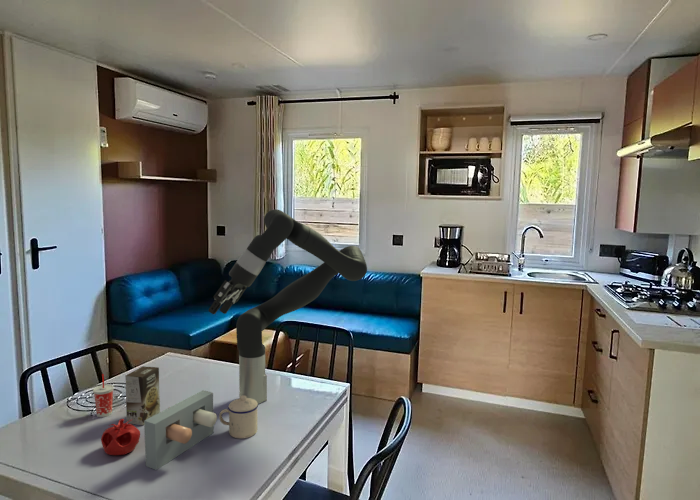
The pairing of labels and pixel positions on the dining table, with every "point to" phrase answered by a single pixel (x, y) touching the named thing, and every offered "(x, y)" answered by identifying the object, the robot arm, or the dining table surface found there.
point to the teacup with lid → (241, 417)
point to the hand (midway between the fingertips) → (216, 312)
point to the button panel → (181, 414)
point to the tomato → (120, 438)
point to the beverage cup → (103, 399)
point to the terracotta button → (178, 433)
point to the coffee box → (142, 394)
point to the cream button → (204, 417)
